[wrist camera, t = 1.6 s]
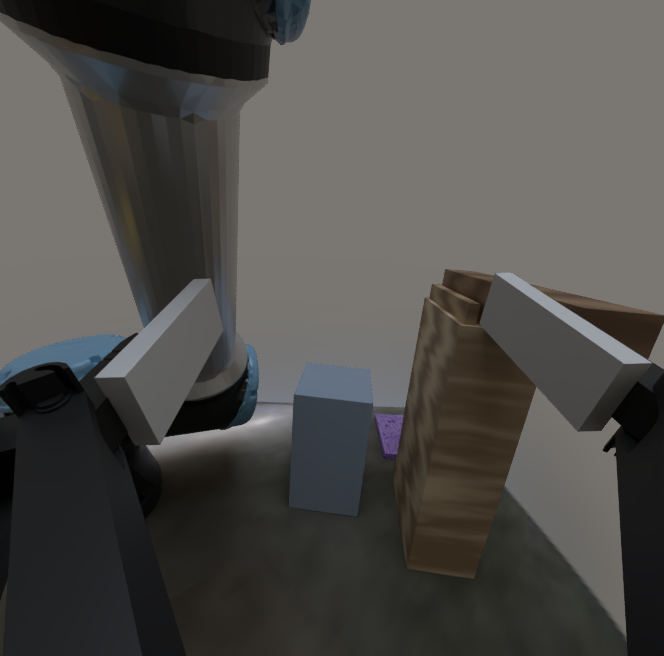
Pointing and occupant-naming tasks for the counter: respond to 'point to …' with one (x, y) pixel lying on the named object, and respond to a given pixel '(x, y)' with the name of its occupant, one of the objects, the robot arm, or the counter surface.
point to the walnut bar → (574, 310)
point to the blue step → (330, 438)
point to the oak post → (456, 437)
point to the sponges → (389, 433)
